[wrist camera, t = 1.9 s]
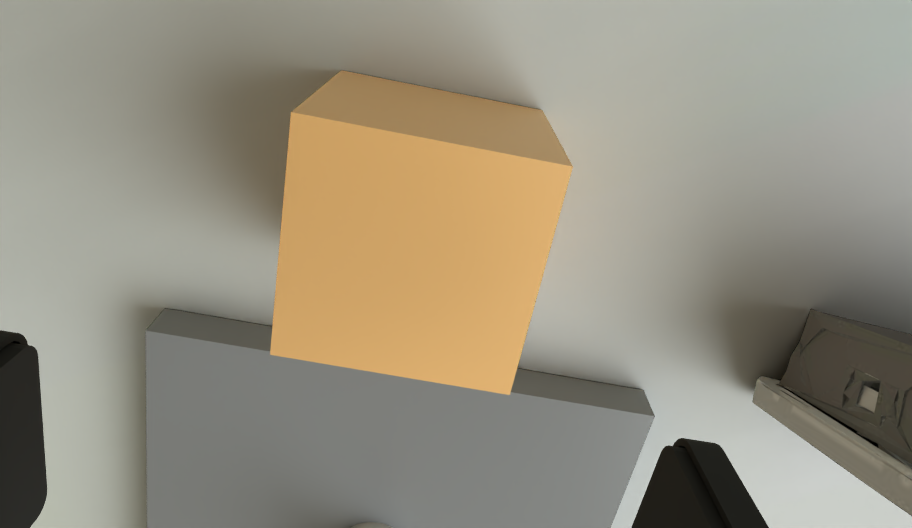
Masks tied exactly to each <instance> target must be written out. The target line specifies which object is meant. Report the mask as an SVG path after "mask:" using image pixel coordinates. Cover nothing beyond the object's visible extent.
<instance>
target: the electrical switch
mask: <svg viewBox="0 0 912 528" xmlns="http://www.w3.org/2000/svg"><path fill="white" fill-rule="evenodd" d="M753 403H754V404H755V405H757V406H758V407H760V408H761V409H762V410H764V411H765V412H767V413H768V414H769V415H771V416H772V417H773V418H775V419H776V420H778V421H779V422H780V423H782V424H783V425H785V426H786V427H787V428H789V429H790V430H791V431H793V432H794V433H796V434H797V435H798V436H800V437H801V438H803V439H804V440H805V441H807V442H808V443H810V444H811V445H812V446H814V447H815V448H816V449H818V450H819V451H821V452H822V453H823V454H825V455H826V456H828V457H829V458H830V459H832V460H833V461H835V462H836V463H837V464H839V465H840V466H842V467H843V468H844V469H846V470H847V471H848V472H850V473H851V474H853V475H854V476H855V477H857V478H858V479H860V480H861V481H862V482H864V483H865V484H867V485H868V486H869V487H871V488H872V489H874V490H875V491H877V492H878V493H879V494H881V495H882V496H884V497H885V498H887V499H888V500H890V501H891V502H892V503H894V504H895V505H897V506H898V507H900V508H901V509H902V510H904V511H905V512H907V513H908V514H910V515H911V516H912V335H911V334H907V333H903V332H899V331H895V330H891V329H887V328H883V327H879V326H875V325H871V324H867V323H862V322H858V321H854V320H850V319H846V318H842V317H838V316H834V315H830V314H826V313H822V312H818V311H816V310H813V309H811V310H810V313H809V316H808V319H807V322H806V325H805V328H804V331H803V334H802V336H801V339H800V342H799V344H798V345H797V347H796V349H795V350H794V352H793V353H792V355H791V357H790V361H789V364H788V367H787V371H786V372H785V374H784V376H783V378H782V379H781V381H780V380H776V379H772V378H768V377H763V376H761V377H760V378H758V379H757V382H756V386H755V391H754V396H753Z"/></svg>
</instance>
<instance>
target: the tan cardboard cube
mask: <svg viewBox="0 0 912 528" xmlns="http://www.w3.org/2000/svg"><path fill="white" fill-rule="evenodd" d="M572 168H573V166H572V164H571V162H570V161H569V159H568V157H567V155H566V153H565V151H564V149H563V148H562V146H561V144H560V142H559V140H558V138H557V136H556V135H555V133H554V131H553V129H552V127H551V125H550V123H549V122H548V120H547V118H546V116H545V114H544V112H543V111H542V110H539V109H534V108H529V107H524V106H519V105H514V104H509V103H504V102H499V101H494V100H488V99H483V98H478V97H473V96H468V95H463V94H458V93H453V92H448V91H443V90H438V89H433V88H428V87H423V86H418V85H413V84H408V83H403V82H398V81H393V80H388V79H383V78H378V77H373V76H368V75H363V74H358V73H353V72H348V71H343V70H341V71H340V72H339V73H337V74H336V75H335V76H334V77H333V78H331V79H330V80H329V81H328V82H327V83H325V84H324V85H323V86H322V87H321V88H319V89H318V90H317V91H316V92H315V93H313V94H312V95H311V96H310V97H309V98H307V99H306V100H305V101H304V102H303V103H301V104H300V105H299V106H298V107H296V108H295V109H294V110H293V111H292V112H291V117H290V129H289V141H288V152H287V164H286V175H285V187H284V198H283V210H282V221H281V233H280V245H279V256H278V268H277V279H276V291H275V302H274V314H273V326H272V337H271V349H270V355H274V356H280V357H286V358H292V359H298V360H304V361H310V362H316V363H322V364H328V365H334V366H340V367H346V368H352V369H358V370H364V371H370V372H375V373H381V374H387V375H393V376H399V377H405V378H411V379H417V380H423V381H429V382H435V383H441V384H447V385H453V386H459V387H465V388H471V389H477V390H483V391H488V392H494V393H500V394H506V395H510V392H511V389H512V385H513V381H514V378H515V374H516V371H517V367H518V363H519V360H520V356H521V353H522V349H523V345H524V342H525V338H526V334H527V331H528V327H529V324H530V320H531V316H532V313H533V309H534V305H535V302H536V298H537V295H538V291H539V287H540V284H541V280H542V276H543V273H544V269H545V266H546V262H547V258H548V255H549V251H550V248H551V244H552V240H553V237H554V233H555V229H556V226H557V222H558V219H559V215H560V211H561V208H562V204H563V200H564V197H565V193H566V190H567V186H568V182H569V179H570V175H571V172H572Z"/></svg>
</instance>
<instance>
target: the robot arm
mask: <svg viewBox="0 0 912 528" xmlns="http://www.w3.org/2000/svg"><path fill="white" fill-rule="evenodd" d="M46 496H47V481H46V466H45V451H44V437H43V422H42V407H41V392H40V378H39V363H38V354H37V350H36V349H35V347H33V346H29V345H28V344H27V340H26V339H25V337H24V336H23V335H21V334H19V333H13V332H7V331H0V528H30V527H31V525H32V524H33V523H34V522H35V520H36V519H37V518H38V516H39V515H40V513H41V511H42V509H43V506H44V504H45V501H46ZM632 528H769V527H768V526H767V524H766V522H765V521H764V519H763V517H762V515H761V514H760V512H759V510H758V509H757V507H756V505H755V503H754V502H753V500H752V498H751V497H750V495H749V493H748V492H747V490H746V488H745V486H744V485H743V483H742V481H741V480H740V478H739V476H738V474H737V473H736V471H735V469H734V468H733V466H732V464H731V463H730V461H729V459H728V457H727V456H726V454H725V452H724V451H723V449H722V448H721V447H720V446H719V445H718V444H715V443H710V442H704V441H697V440H691V439H685V438H681V439H678V440H677V441H676V442H675V443H674V445H673V446H666V447H665V448H664V449H663V450H662V452H661V454H660V457H659V459H658V462H657V464H656V467H655V469H654V472H653V474H652V477H651V480H650V482H649V485H648V487H647V490H646V492H645V495H644V497H643V500H642V502H641V505H640V507H639V510H638V513H637V515H636V518H635V520H634V523H633V525H632Z"/></svg>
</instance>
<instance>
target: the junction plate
mask: <svg viewBox="0 0 912 528" xmlns="http://www.w3.org/2000/svg"><path fill="white" fill-rule="evenodd" d="M271 337H272V326H266V325H260V324H254V323H248V322H242V321H237V320H231V319H225V318H219V317H213V316H207V315H202V314H196V313H190V312H184V311H178V310H172V309H167V308H165V309H164V310H163V311H162V312H161V314H160V315H159V316H158V317H157V318H156V319H155V320H154V322H153V323H152V324H151V325H150V326H149V327H148V328H147V330H146V455H147V528H611V525H612V523H613V520H614V518H615V515H616V513H617V510H618V508H619V505H620V503H621V500H622V498H623V495H624V492H625V490H626V487H627V485H628V482H629V480H630V477H631V475H632V472H633V470H634V467H635V465H636V462H637V460H638V457H639V455H640V452H641V450H642V447H643V444H644V442H645V439H646V437H647V434H648V432H649V429H650V427H651V424H652V422H653V419H654V417H655V416H654V414H653V411H652V409H651V407H650V404H649V402H648V399H647V397H646V395H645V392H644V390H640V389H634V388H628V387H622V386H616V385H611V384H605V383H599V382H593V381H587V380H581V379H576V378H570V377H564V376H558V375H552V374H546V373H540V372H535V371H529V370H523V369H517V371H516V374H515V378H514V381H513V385H512V389H511V392H510V395H506V394H500V393H494V392H488V391H483V390H477V389H471V388H465V387H459V386H453V385H447V384H441V383H435V382H429V381H423V380H417V379H411V378H405V377H399V376H393V375H387V374H381V373H375V372H370V371H364V370H358V369H352V368H346V367H340V366H334V365H328V364H322V363H316V362H310V361H304V360H298V359H292V358H286V357H280V356H274V355H270V349H271Z"/></svg>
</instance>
